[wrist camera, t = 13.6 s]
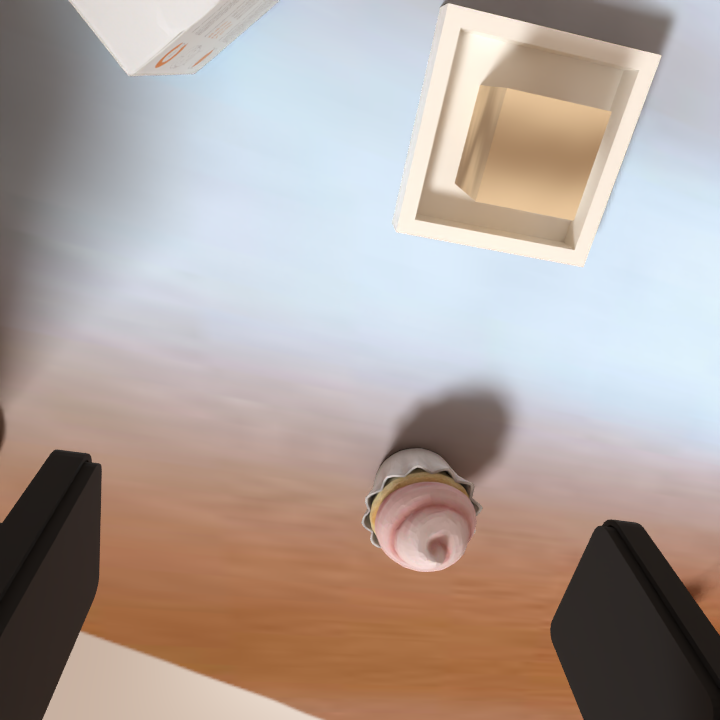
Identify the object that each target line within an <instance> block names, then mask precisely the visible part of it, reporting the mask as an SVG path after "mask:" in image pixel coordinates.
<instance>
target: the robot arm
mask: <svg viewBox="0 0 720 720" xmlns="http://www.w3.org/2000/svg"><path fill="white" fill-rule="evenodd" d="M101 475H102V469H101V464H99V463H92V460H91V456H90V454H87V453H79V452H71V451H63V450H54V451H53V452H52V453H51V454H50V456H49V457H48V458H47V460H46V461H45V463H44V464H43V466H42V467H41V468H40V470H39V471H38V473H37V474H36V476H35V477H34V478H33V480H32V481H31V483H30V484H29V486H28V487H27V488H26V490H25V491H24V493H23V494H22V496H21V497H20V498H19V500H18V501H17V503H16V504H15V506H14V507H13V508H12V510H11V511H10V513H9V514H8V516H7V517H6V518H5V520H4V521H3V523H0V720H42V719H43V716H44V714H45V712H46V710H47V707H48V705H49V702H50V700H51V698H52V696H53V693H54V691H55V689H56V686H57V684H58V681H59V679H60V677H61V674H62V672H63V670H64V667H65V665H66V662H67V660H68V658H69V656H70V653H71V651H72V649H73V646H74V644H75V642H76V639H77V637H78V635H79V632H80V630H81V628H82V625H83V623H84V621H85V618H86V616H87V614H88V611H89V609H90V607H91V604H92V602H93V599H94V597H95V594H96V591H97V586H98V581H99V560H100V517H101ZM550 630H551V639H552V643H553V645H554V648H555V650H556V652H557V655H558V657H559V660H560V662H561V665H562V667H563V670H564V672H565V675H566V677H567V680H568V682H569V685H570V687H571V690H572V692H573V694H574V697H575V699H576V702H577V704H578V707H579V709H580V712H581V714H582V717H583V719H584V720H720V635H719V634H718V633H717V631H716V630H715V628H714V627H713V626H712V624H711V623H710V621H709V620H708V618H707V617H706V616H705V614H704V613H703V611H702V610H701V609H700V607H699V606H698V604H697V603H696V601H695V600H694V599H693V597H692V596H691V594H690V593H689V592H688V590H687V589H686V587H685V586H684V584H683V583H682V582H681V580H680V579H679V577H678V576H677V574H676V573H675V572H674V570H673V569H672V567H671V566H670V565H669V563H668V562H667V560H666V559H665V557H664V556H663V555H662V553H661V552H660V550H659V549H658V548H657V546H656V545H655V543H654V542H653V540H652V539H651V538H650V536H649V535H648V533H647V532H646V531H645V529H644V528H643V527H642V526H641V525H640V524H638V523H635V522H627V521H619V520H607V521H606V522H604V524H603V525H602V526H598V527H597V528H596V529H595V530H594V532H593V534H592V536H591V538H590V540H589V543H588V545H587V547H586V549H585V551H584V553H583V555H582V558H581V560H580V562H579V564H578V566H577V568H576V570H575V573H574V575H573V577H572V579H571V581H570V583H569V585H568V588H567V590H566V592H565V594H564V596H563V598H562V601H561V603H560V605H559V607H558V609H557V611H556V613H555V616H554V618H553V620H552V623H551V628H550Z"/></svg>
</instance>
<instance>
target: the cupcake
mask: <svg viewBox="0 0 720 720" xmlns="http://www.w3.org/2000/svg"><path fill="white" fill-rule="evenodd" d="M473 492H474V484H473V483H471V482H469V481H467V480H465V479H463V478H462V477H460V476H458V475H457V474H456V473H455V472H454V470H453V469H452V468H451V467H450V466H449V465H448V463H447V462H446V461H445V460H444V459H443V458H442V457H441V456H440V455H438V454H436V453H434V452H432V451H429V450H426V449H422V448H410V449H405V450H401V451H399V452H397V453H395V454H393V455H391V456H390V457H389V458H387V459H386V460H385V461H384V462H383V464H382V465H381V466H380V468H379V469H378V472H377V474H376V477H375V481H374V485H373V489H372V490H371V491H370V493H369V494H368V495H367V497H366V500H365V503H366V505H367V510H366V512H365V514H364V516H363V519H362V525H363V526H364V528H366V529H367V530H369V531H370V532H371V539H370V540H371V542H372V544H373V545H375V546H376V547H379V548H382V549H383V551H384V552H385V553H386V554H387V555H388V556H389V557H390V558H391V559H392V560H394V561H395V562H397V563H398V564H400V565H402V566H403V567H406V568H409V569H412V570H416V571H423V572H429V571H438V570H443V569H445V568H447V567H449V566H450V565H452V564H453V563H455V562H456V561H458V560H459V559H460V558H461V557H462V555H463V554H464V552H465V550H466V547H467V544H468V542H469V541H470V539H471V538H472V536H473V535H474V533H475V527H476V516H477V515H478V514H479V513H480V512H481V510H482V506H481V505H480V504H479V503H478V502H477V501H475V500H474V499H473V498H472V496H473Z"/></svg>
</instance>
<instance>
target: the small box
mask: <svg viewBox="0 0 720 720" xmlns="http://www.w3.org/2000/svg"><path fill="white" fill-rule="evenodd" d="M279 1H280V0H69V2H70V3H71V4H72V5H73V7H74V8H75V9H76V10H77V12H78V13H79V14H80V15H81V17H82V18H83V19H84V21H85V22H86V23H87V24H88V26H89V27H90V28H91V29H92V31H93V32H94V33H95V34H96V36H97V37H98V38H99V39H100V41H101V42H102V43H103V44H104V46H105V47H106V48H107V50H108V51H109V52H110V53H111V55H112V56H113V57H114V58H115V60H116V61H117V62H118V63H119V65H120V66H121V67H122V68H123V70H124V71H125V72H126V74H127V75H128V76H146V75H148V76H150V75H180V74H195V73H196V72H197V71H199V70H200V69H201V68H202V67H203V66H205V65H206V64H207V63H208V62H209V61H211V60H212V59H213V58H214V57H215V56H216V55H218V54H219V53H220V52H221V51H222V50H223V49H225V48H226V47H227V46H228V45H229V44H230V43H232V42H233V41H234V40H235V39H236V38H237V37H239V36H240V35H241V34H242V33H243V32H244V31H245V30H247V29H248V28H249V27H250V26H251V25H252V24H254V23H255V22H256V21H257V20H258V19H259V18H260V17H262V16H263V15H264V14H265V13H266V12H267V11H269V10H270V9H271V8H272V7H273V6H274V5H275V4H276V3H278V2H279Z"/></svg>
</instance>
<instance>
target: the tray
mask: <svg viewBox="0 0 720 720" xmlns="http://www.w3.org/2000/svg"><path fill="white" fill-rule="evenodd" d="M661 56H662V55H658V54H654V53H650V52H646V51H642V50H637V49H633V48H629V47H625V46H621V45H617V44H613V43H609V42H605V41H601V40H597V39H593V38H588V37H584V36H580V35H576V34H572V33H568V32H564V31H560V30H556V29H552V28H548V27H544V26H540V25H535V24H531V23H527V22H523V21H519V20H515V19H511V18H507V17H503V16H499V15H495V14H491V13H486V12H482V11H478V10H474V9H470V8H466V7H462V6H458V5H454V4H450V3H448V4H446V5H444V6H442V7H440V10H439V14H438V18H437V23H436V27H435V32H434V36H433V41H432V45H431V50H430V54H429V59H428V63H427V68H426V72H425V77H424V81H423V86H422V90H421V95H420V99H419V104H418V108H417V112H416V117H415V121H414V126H413V130H412V135H411V139H410V144H409V148H408V153H407V157H406V162H405V166H404V171H403V175H402V180H401V184H400V189H399V193H398V198H397V202H396V207H395V211H394V215H393V220H392V224H393V226H394V228H395V231H396V232H398V233H404V234H409V235H414V236H420V237H425V238H430V239H436V240H441V241H446V242H452V243H457V244H462V245H468V246H473V247H478V248H484V249H489V250H494V251H500V252H505V253H510V254H516V255H521V256H526V257H532V258H537V259H542V260H547V261H553V262H558V263H563V264H569V265H574V266H579V267H584V264H585V261H586V259H587V256H588V253H589V251H590V248H591V245H592V242H593V240H594V237H595V234H596V232H597V229H598V226H599V223H600V221H601V218H602V215H603V213H604V210H605V207H606V205H607V202H608V199H609V196H610V194H611V191H612V188H613V186H614V183H615V180H616V177H617V175H618V172H619V169H620V167H621V164H622V161H623V159H624V156H625V153H626V150H627V148H628V145H629V142H630V140H631V137H632V134H633V131H634V129H635V126H636V123H637V121H638V118H639V115H640V113H641V110H642V107H643V104H644V102H645V99H646V96H647V94H648V91H649V88H650V85H651V83H652V80H653V77H654V75H655V72H656V69H657V66H658V64H659V61H660V58H661ZM480 85H483V86H493V87H503V88H510V89H514V90H518V91H523V92H527V93H532V94H536V95H541V96H545V97H549V98H554V99H558V100H563V101H567V102H572V103H576V104H580V105H585V106H589V107H594V108H598V109H603V110H607V111H611V112H612V113H611V116H610V118H609V121H608V124H607V127H606V130H605V133H604V136H603V139H602V141H601V144H600V147H599V150H598V153H597V156H596V159H595V161H594V164H593V167H592V170H591V173H590V176H589V179H588V181H587V184H586V187H585V190H584V193H583V196H582V199H581V202H580V204H579V207H578V210H577V213H576V216H575V219H574V221H572V220H567V219H562V218H557V217H552V216H547V215H542V214H537V213H532V212H527V211H522V210H516V209H511V208H506V207H501V206H496V205H491V204H486V203H481V202H476V201H475V200H473V199H472V198H471V197H470V196H469V195H467V194H466V193H465V192H464V191H463V190H462V189H460V188H459V187H458V186H457V185H456V184H455V179H456V176H457V172H458V168H459V164H460V160H461V156H462V152H463V149H464V145H465V141H466V137H467V133H468V129H469V125H470V121H471V118H472V114H473V110H474V106H475V102H476V98H477V94H478V91H479V87H480Z"/></svg>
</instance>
